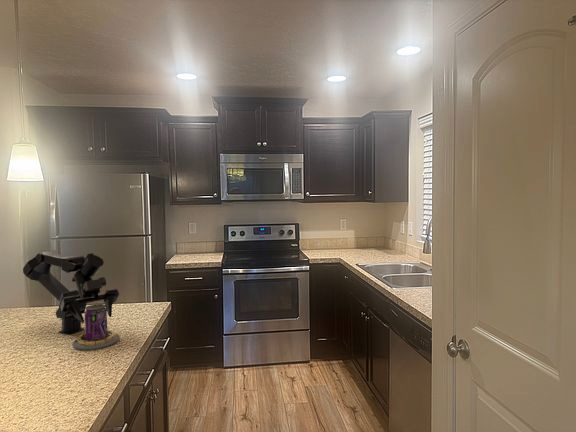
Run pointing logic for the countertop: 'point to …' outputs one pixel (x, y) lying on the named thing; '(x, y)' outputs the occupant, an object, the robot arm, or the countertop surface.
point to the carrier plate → (87, 348)
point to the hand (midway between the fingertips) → (97, 319)
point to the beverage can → (95, 322)
